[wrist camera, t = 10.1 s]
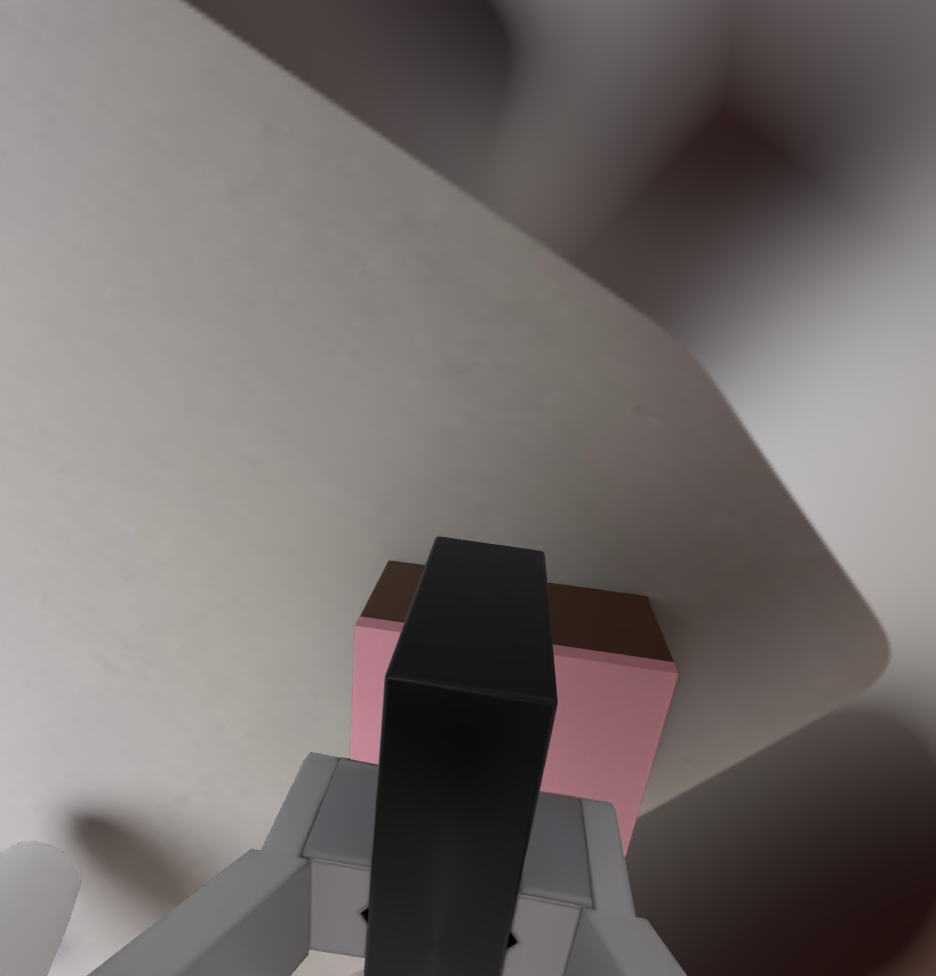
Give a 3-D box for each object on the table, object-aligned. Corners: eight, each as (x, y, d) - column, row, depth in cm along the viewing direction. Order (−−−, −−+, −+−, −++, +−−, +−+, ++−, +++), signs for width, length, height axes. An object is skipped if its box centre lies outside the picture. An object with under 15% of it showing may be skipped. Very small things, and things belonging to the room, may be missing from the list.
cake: (520, 578, 25) (519, 650, 20) (647, 596, 25) (679, 673, 20) (495, 740, 29) (488, 836, 24) (606, 757, 28) (624, 859, 23)
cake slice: (388, 560, 26) (354, 625, 21) (470, 571, 25) (456, 640, 20) (378, 722, 29) (347, 813, 24) (451, 733, 29) (435, 827, 24)
